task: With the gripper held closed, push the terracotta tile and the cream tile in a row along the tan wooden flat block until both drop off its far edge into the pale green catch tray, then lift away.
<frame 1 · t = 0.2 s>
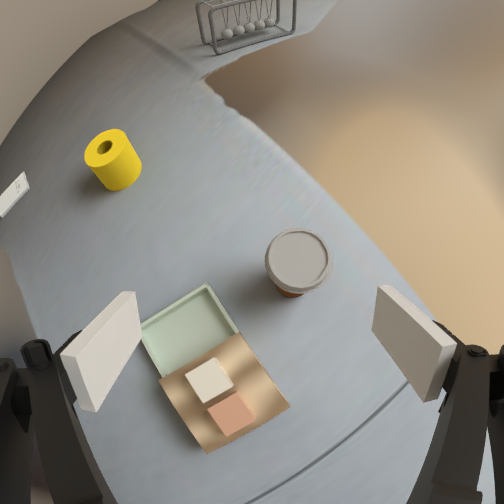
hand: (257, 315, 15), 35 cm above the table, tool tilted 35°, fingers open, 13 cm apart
terracotta tile: (233, 412, 40), point 5 cm above the table, touching tan wooden flat block
cream tile: (211, 379, 42), point 5 cm above the table, touching tan wooden flat block
tan wooden flat block: (226, 392, 45), on the table
yellow toilet paper roll: (122, 172, 62), on the table
catch tray: (188, 331, 49), on the table
disposable coffee cup: (292, 279, 52), on the table
newton's cradle: (249, 38, 79), on the table
external hard drive: (14, 196, 64), on the table
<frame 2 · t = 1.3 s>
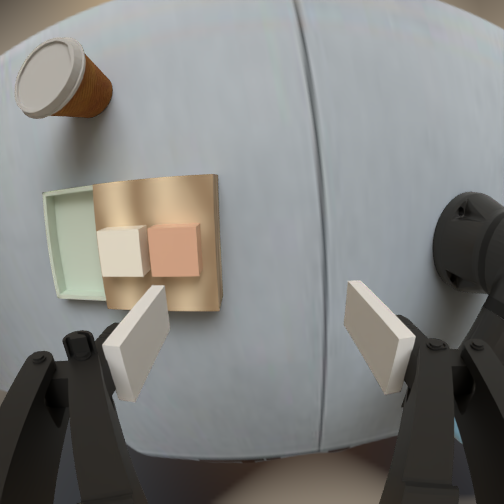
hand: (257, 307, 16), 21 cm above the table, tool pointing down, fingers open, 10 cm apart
terracotta tile: (178, 246, 31), point 5 cm above the table, touching tan wooden flat block
cream tile: (127, 248, 31), point 5 cm above the table, touching tan wooden flat block
tan wooden flat block: (164, 238, 36), on the table
catch tray: (83, 241, 36), on the table
disposable coffee cup: (93, 96, 32), on the table
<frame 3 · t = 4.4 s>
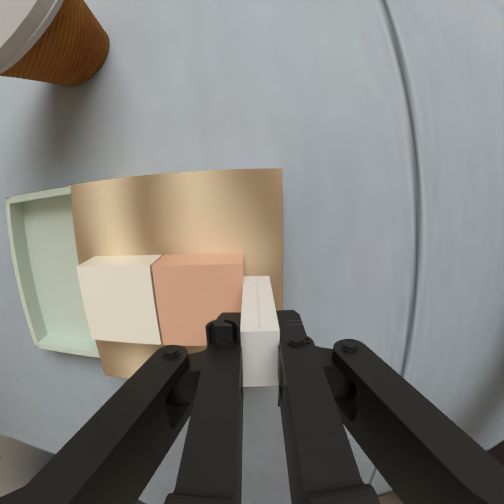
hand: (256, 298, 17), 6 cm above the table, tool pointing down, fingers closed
terracotta tile: (205, 291, 19), point 5 cm above the table, touching gripper
cream tile: (131, 291, 19), point 5 cm above the table, touching tan wooden flat block
tan wooden flat block: (188, 269, 24), on the table
catch tray: (65, 270, 24), on the table
disposable coffee cup: (81, 56, 19), on the table
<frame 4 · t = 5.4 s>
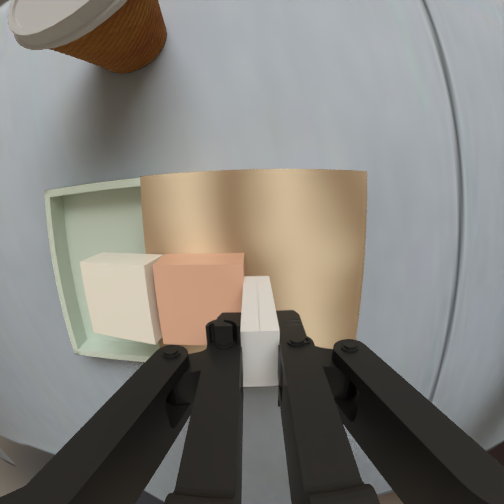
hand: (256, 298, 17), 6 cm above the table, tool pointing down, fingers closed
terracotta tile: (206, 291, 19), point 5 cm above the table, touching gripper, tan wooden flat block
cream tile: (135, 289, 19), point 5 cm above the table, tilted 10°, touching tan wooden flat block
tan wooden flat block: (255, 268, 24), on the table
catch tray: (113, 270, 24), on the table
disposable coffee cup: (133, 43, 19), on the table
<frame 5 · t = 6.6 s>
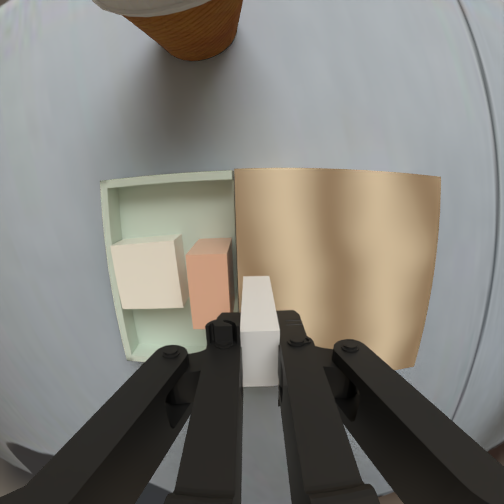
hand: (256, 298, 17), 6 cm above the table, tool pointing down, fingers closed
terracotta tile: (231, 280, 21), point 3 cm above the table, tilted 90°, touching catch tray
cream tile: (145, 277, 21), point 3 cm above the table, tilted 180°, touching catch tray
tan wooden flat block: (328, 265, 24), on the table
catch tray: (176, 269, 24), on the table
disposable coffee cup: (199, 30, 19), on the table
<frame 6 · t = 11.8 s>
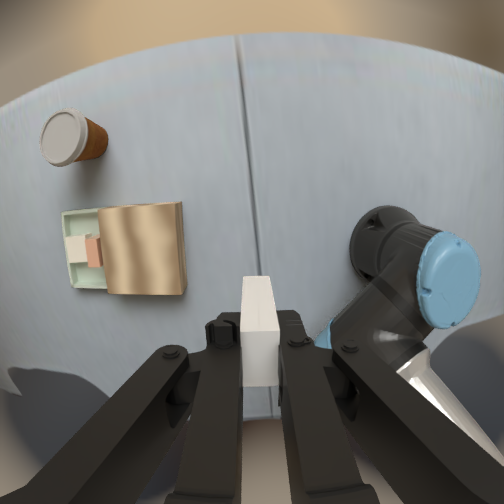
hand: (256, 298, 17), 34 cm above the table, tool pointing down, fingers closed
terracotta tile: (104, 249, 49), point 3 cm above the table, tilted 90°, touching catch tray
cream tile: (76, 249, 49), point 3 cm above the table, tilted 180°, touching catch tray
tan wooden flat block: (147, 245, 52), on the table
catch tray: (91, 247, 52), on the table
disposable coffee cup: (94, 142, 47), on the table
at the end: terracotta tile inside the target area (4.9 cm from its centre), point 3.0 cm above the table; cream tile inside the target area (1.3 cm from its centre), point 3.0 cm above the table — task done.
